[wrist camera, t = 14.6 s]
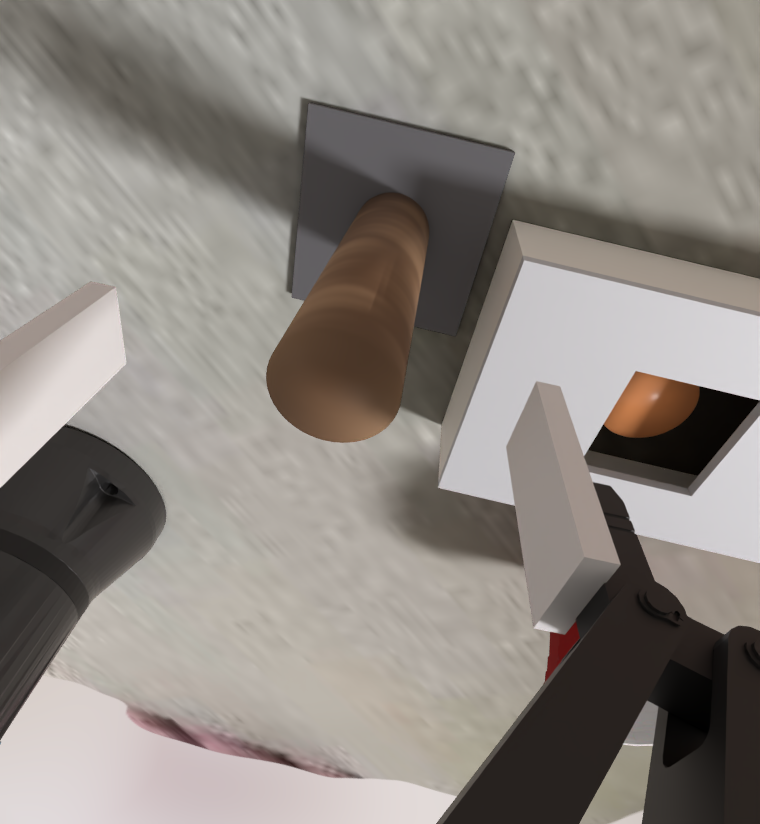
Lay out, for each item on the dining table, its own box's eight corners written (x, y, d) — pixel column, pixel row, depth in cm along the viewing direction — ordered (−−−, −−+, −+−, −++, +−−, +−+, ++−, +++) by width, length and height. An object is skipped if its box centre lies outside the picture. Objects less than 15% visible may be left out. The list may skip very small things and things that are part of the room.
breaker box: (441, 425, 34) (438, 487, 29) (512, 219, 26) (524, 260, 21) (723, 491, 34) (766, 564, 29) (887, 309, 26) (983, 370, 21)
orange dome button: (573, 401, 31) (581, 426, 29) (613, 329, 28) (624, 351, 26) (654, 420, 31) (667, 446, 29) (701, 350, 28) (720, 374, 26)
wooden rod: (349, 259, 28) (263, 425, 16) (361, 184, 25) (269, 312, 13) (419, 276, 28) (386, 454, 16) (438, 202, 25) (415, 347, 13)
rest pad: (293, 294, 30) (291, 297, 29) (310, 102, 24) (308, 103, 23) (455, 333, 30) (455, 336, 30) (514, 151, 24) (515, 153, 23)
